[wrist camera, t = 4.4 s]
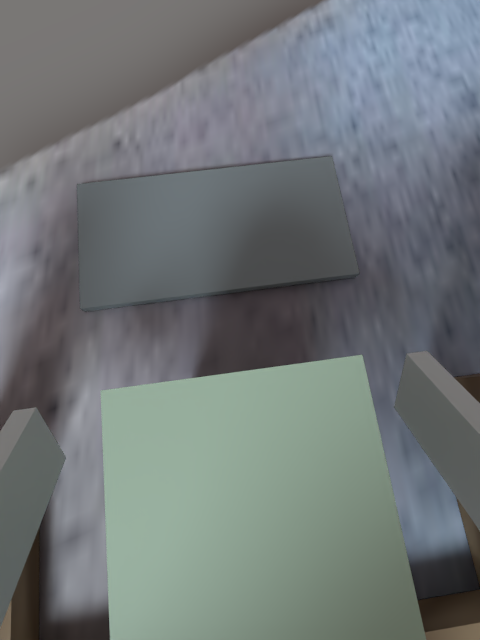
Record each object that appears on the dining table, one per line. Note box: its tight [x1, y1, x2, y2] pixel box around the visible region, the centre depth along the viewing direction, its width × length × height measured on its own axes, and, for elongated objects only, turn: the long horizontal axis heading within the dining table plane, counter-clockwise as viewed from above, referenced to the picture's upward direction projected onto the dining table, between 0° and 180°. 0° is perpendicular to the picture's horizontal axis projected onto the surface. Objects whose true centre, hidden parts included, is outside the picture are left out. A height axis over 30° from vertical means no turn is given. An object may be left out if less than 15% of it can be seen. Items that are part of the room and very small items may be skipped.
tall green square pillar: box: [101, 355, 426, 640], centre depth 11 cm, size 5×5×12 cm
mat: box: [77, 156, 360, 311], centre depth 20 cm, size 16×8×1 cm, turn 98°
